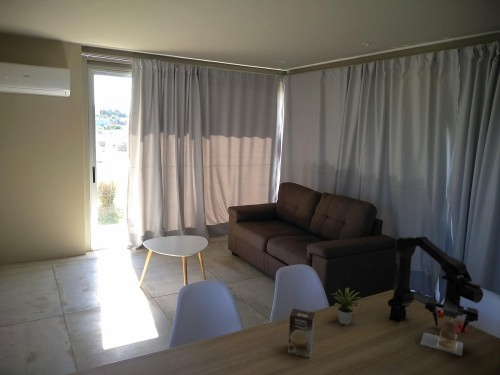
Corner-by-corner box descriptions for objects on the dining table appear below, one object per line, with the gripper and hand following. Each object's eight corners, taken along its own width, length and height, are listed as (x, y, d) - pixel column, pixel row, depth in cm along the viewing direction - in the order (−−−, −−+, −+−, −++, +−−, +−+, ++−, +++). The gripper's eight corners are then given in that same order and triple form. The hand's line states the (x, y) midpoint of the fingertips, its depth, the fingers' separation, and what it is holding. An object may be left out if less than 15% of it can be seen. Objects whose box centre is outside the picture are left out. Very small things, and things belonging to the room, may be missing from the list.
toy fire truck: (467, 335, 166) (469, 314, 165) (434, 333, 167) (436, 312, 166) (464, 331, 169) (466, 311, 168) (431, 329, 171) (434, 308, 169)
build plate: (420, 345, 157) (420, 343, 157) (423, 334, 166) (424, 332, 166) (461, 358, 149) (461, 355, 149) (462, 345, 158) (463, 342, 158)
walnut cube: (440, 336, 155) (442, 325, 154) (441, 331, 159) (443, 320, 158) (454, 340, 152) (455, 328, 151) (455, 334, 156) (456, 323, 156)
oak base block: (438, 345, 155) (439, 336, 155) (439, 339, 160) (440, 330, 160) (455, 350, 152) (456, 341, 152) (456, 343, 157) (457, 334, 157)
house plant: (342, 334, 164) (344, 298, 162) (321, 319, 176) (323, 286, 174) (366, 326, 171) (368, 292, 169) (344, 313, 183) (346, 281, 181)
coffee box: (287, 353, 149) (288, 315, 147) (290, 345, 155) (292, 308, 153) (310, 358, 146) (312, 319, 144) (313, 349, 152) (315, 312, 150)
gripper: (425, 294, 151) (421, 330, 153) (479, 306, 141) (475, 345, 144) (428, 284, 160) (425, 319, 163) (480, 295, 151) (475, 332, 153)
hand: (449, 328), depth 155 cm, fingers open, 9 cm apart
